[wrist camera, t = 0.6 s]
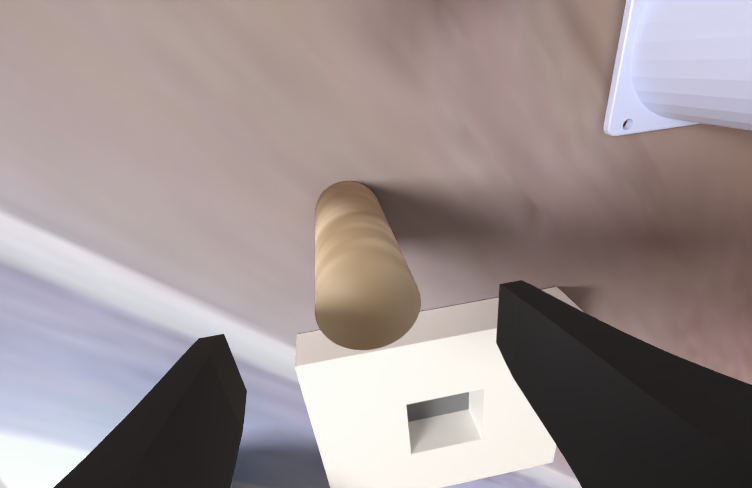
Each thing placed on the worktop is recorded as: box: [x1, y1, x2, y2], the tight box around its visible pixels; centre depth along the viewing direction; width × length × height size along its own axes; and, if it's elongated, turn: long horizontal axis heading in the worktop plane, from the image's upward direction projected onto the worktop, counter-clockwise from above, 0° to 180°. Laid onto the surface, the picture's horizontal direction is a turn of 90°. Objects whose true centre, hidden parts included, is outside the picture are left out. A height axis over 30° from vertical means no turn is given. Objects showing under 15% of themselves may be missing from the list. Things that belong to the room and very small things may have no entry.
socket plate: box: [295, 287, 583, 488], centre depth 23 cm, size 16×14×2 cm
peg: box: [315, 181, 421, 350], centre depth 14 cm, size 3×3×8 cm
